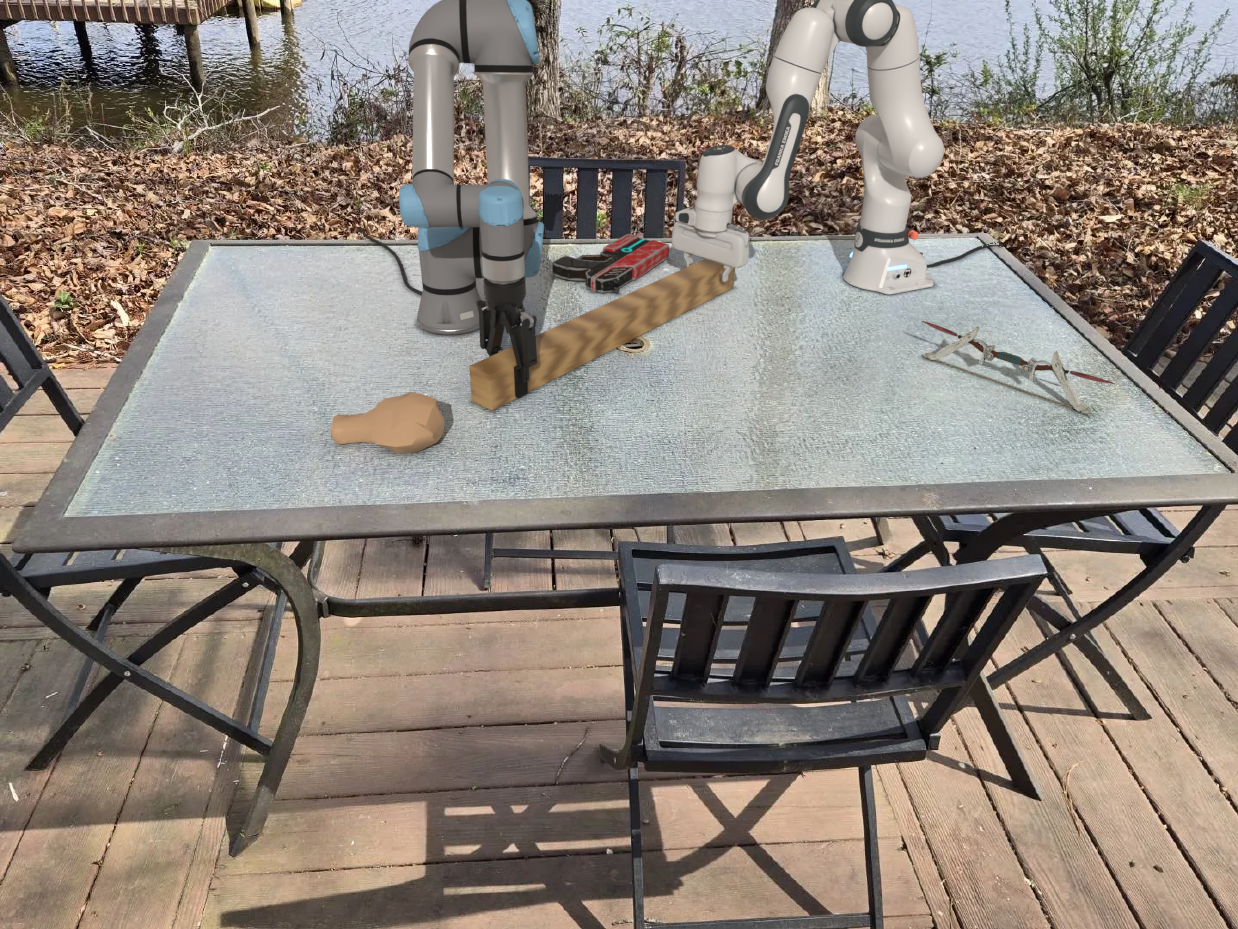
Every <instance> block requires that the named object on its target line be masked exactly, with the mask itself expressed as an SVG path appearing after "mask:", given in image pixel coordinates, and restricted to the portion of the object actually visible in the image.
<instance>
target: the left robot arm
mask: <svg viewBox="0 0 1238 929" xmlns="http://www.w3.org/2000/svg"><path fill="white" fill-rule="evenodd" d="M408 44H409V45H408V59H407V60H408V66H409V68H410V70H411V71H412V72H413V88H412V90H413V94H412V96H413V97H412V98H413V99H412V100H413V101H412V155H411V156H412V161H411V163H412V164H411V165H412V166H411V167H412V168H411V170H412V171H411V181H412V182H411V183H408V184H407V183H406V184H402V185H401V186H400V187H399V192H398V203H399V213H400V214H399V215H400V218H401V221H402V223H403V224H404V225H405V226H407V227H409V228H418V229H417V247H416V248H417V250H418V256H419V264H420V266H419V267H420V275H421V276H420V277H421V284H422V291H421V290H419V289H416V288H415V287H413V286H411V285H410V284H409V282H408V279H407V276H406V273H405V270H404V267H403V264H402V261H401V260H400V258H399V256H398V255H397V253H396V252H395V251H394V250H393V249H392V248H391V247H389V246H388V245H386V244H385V243H384V242H382V241H380V240H378V239H375V238H374V237H372V236H370V235H369V234H367V232H365V230H364V229H363V228H362V227H359V228H358V230H357V233H361V234H362V235H363V237H365V238H366V239H367V240H369V241H370V242H373V243H375V244H377V245H379V246H381V247H383V248H384V249H385V250H387V251H388V252H389V253H390V254H391V255H392V256H393V257H394V259H395V261H396V263H397V265H398V267H399V271H400V274H401V277H402V281H403V283H404V286H405V287H406V289H408V290H410V291H411V292H413V293H415V294H418V295H420V296H421V297H420V302H419V305H418V310H417V317H416V318H417V325H418V326H419V328H420V329H421V330H423V331H424V332H427V333H430V334H433V335H440V336H459V335H465V334H469V333H473V332H476V331H477V330H479V348H480V349H482V350H486V354H487V355H488V357H490V356H492V355H494V354H497V353H499V352H501V351H503V350H504V348H503V347H502V342H503V337H504V332H506V334H508V335H509V336H508V337H509V338H510V343H511V347H513V351H514V355H515V359H516V363H517V366H515V367H514V382H515V397H516V399H520V398H522V397H524V396H525V395H528V394H529V392H528V382H527V381H529V367H531V366H533V365H535V364H537V350H536V335H537V334H536V326H537V321H538V320H537V319H538V318H537V316H536V315H531V316H530V315H529V314H528V313H527V312H526V308H525V306H524V300H525V298H526V296H527V286H526V278H527V279H528V278H534V277H536V276H538V274H539V272H540V270H541V269H540V268H541V262H542V253H543V243H544V232H545V230H544V229H545V224H544V223H543V222H541V221H538V214H537V212H536V211H535V210H534V209H533V208H532V207H531V205H530V180H529V179H530V178H529V177H530V176H529V174H530V173H529V149H528V148H529V147H528V146H529V144H528V115H527V114H528V113H527V111H528V110H527V82H528V81H529V80H530V78H531V77H532V76H533V75H534V66H536V65H539V64H540V62H541V59H540V53H539V44H538V38H537V30H536V23H535V17H534V12H533V7H532V4H531V2H529V0H439V1H438V2H436V3H434V4H433V5H432V6H431V7H430V8H428V9H427V10H426V11H425V12H424V13H423V15H422V16H421V17H420V19H419V20H418V22H417V24H416V25H415V27H414V29H413V32H412V34H411V37H410V40H409V43H408ZM460 64H471V65H473V69H474V75H475V76H476V78H478V79H479V80H480V81H481V83H482V94H483V96H482V97H483V98H482V99H483V116H484V117H483V118H484V136H485V137H484V138H485V139H484V140H485V154H486V155H485V156H486V158H485V159H486V174H487V175H486V176H487V184H454V183H455V76H456V75H457V74H458V72H459V71H460ZM379 241H380V242H379ZM477 279H483V293H484V298H481V295H480V293H479V291H478V288H477Z"/></svg>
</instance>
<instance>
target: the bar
mask: <svg viewBox="0 0 1238 929" xmlns="http://www.w3.org/2000/svg"><path fill="white" fill-rule="evenodd" d="M694 263H695V264H693V265H691V266H688V267H687V266H686V267H684V268H682V269H680V270H678V271H675V272H673V273H671V274H669V275H665V276H664V277H662V278H659V279H657V280H655V281H653V282H651V283H649V284H647V285H644V286H643V287H639V288H638V289H636V290H634V291H631V292H629V293H626V294H625V295H622V296H620V297H618V298H615V299H612V300H611V301H609V302H607V303H604V304H602V305H600V306H597V307H595V308H594V309H592V310H589V311H587V312H585V313H583V314H580V315H578V316H576V317H574V318H571V319H569V320H567V321H565V322H563V323H561V324H558V325H556V326H553V327H552V328H549V329H548V330H547V329H546V330H545V331H543V332H541V333H539V334H535V335H536V350H537V364H535V365H533V366H531V367H529V381H527V382H528V393H530V392H531V391H532V392H533V391H534V390H537V389H538V388H540V387H542V386H544V385H546V384H548V383H550V382H552V381H554V380H555V379H556V380H557V379H558V378H560V377H561V376H563V375H565V374H567V373H570V372H571V371H573V370H575V369H577V368H579V367H581V366H583V365H585V364H587V363H590V362H591V361H594V360H595V359H597V358H599V357H601V356H603V355H605V354H607V353H609V352H610V351H611V352H612V351H613V350H614V349H615V350H616V349H617V348H619V347H620V346H623V345H624V344H627V343H629V342H630V341H632V340H634V339H636V338H638V337H640V336H642V335H644V334H646V333H649V332H650V331H651V330H654V329H655V328H657V327H660V326H661V325H663V324H665V323H668V322H669V321H671V320H673V319H676V318H677V317H679V316H681V315H683V314H685V313H688V312H689V311H691V310H693V309H695V308H697V307H699V306H701V305H703V304H705V303H707V302H709V301H711V300H713V299H714V298H717V297H719V296H721V295H722V294H724V293H726V292H728V291H730V290H732V289H734V284H735V276H736V268H735V267H734V268H733V269H732V270H731V272H730V273H729V274H728V280H727V281H726V282H723V281H720V280H719V278H720V277H719V274H720V273H722V272H724V271H725V270H726V269H725V268H724V264H722V263H719V262H716V261H712V260H709V259H706V258H703V259H701V260H700V261H697V262H694ZM515 366H517V363H516V359H515V355H514V351H513V347H512V346H510V347H508V348H506V349H502V350H500V351H498V353H497V354H494V355H492V356H490V357H489V356H488V357H485V358H484V359H483V358H482V359H481V360H479V361H476V362H475V363H473V364H471V365H469V366H468V368H469V369H468V370H469V382H470V393H471V394H470V395H471V401H472V403H474V404H476V405H478V406H481V407H483V408H485V409H487V410H489V411H492V412H494V411H495V410H497V409H499V408H501V407H503V406H504V405H506V404H508V403H510V402H513V401H515V400H516V399H517V398H516V397H515V382H514V367H515Z"/></svg>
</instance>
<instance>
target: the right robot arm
mask: <svg viewBox="0 0 1238 929" xmlns="http://www.w3.org/2000/svg"><path fill="white" fill-rule="evenodd" d="M917 30H918V29H917V26H916V22H915V18H914V14H913V12H912V11H911V10H910V8H909V7H907V6H905V5H902V4H895V2H894V1H893V0H815V1H814V2H813V3H812V4H811V5H810V7H804V8H801V9H799V10H798V11H796V12H795V13H794V14H793V15H792V17H791V19H790V20H789V22H788V24H787V27H785V30H784V32H783V34H782V36H781V38H780V40H779V43H778V45H777V47H776V49H775V52H774V55H773V58H772V60H771V64H770V66H769V69H768V73H767V78H766V85H765V91H766V95H767V98H768V100H769V103H770V108H771V109H772V116H773V129H772V133H771V137H770V140H769V142H768V147H767V149H766V152H765V156H764V158H763V161H761V160H758V159H756V158H752V157H749V156H747V155H745V154H744V153H741V152H740V151H739V150H738V149H737V148H736V147H735V146H734V145H730V144H718V145H713V146H709V147H708V148H707V149H705V150H704V151H703V152H702V155H701V157H700V160H699V163H698V164H699V165H698V168H697V169H698V170H697V175H696V176H697V177H696V192H697V195H696V199H695V202H694V206H690V207H687V208H684V209H680V210H679V211H677V212H676V213H675V214H674V215H675V217H674V219H675V222H674V224H673V226H672V231H671V245H672V248H673V249H674V250H678V251H680V252H683V258H684V260H685V262H686V264H687V265H686V267H688V266H691V265H693V264H695V263H696V262H694V259H693V256H697V257H700V258H703V259H709V260H712V261H716V262H719V263H722V264H724V268H725V269H726V270H725V271H724V272H722V273H720V274H719V277H720V278H719V280H720V281H723V282H726V281H727V280H728V274H729V273H730V272H731V270H732V269H733V268H734V267H735V269H741V268H743V267H745V266H746V265H747V264H748V263H749V260H750V240H751V239H750V238H751V236H750V233H749V232H748V230H746V228H745V227H744V226H738V225H736V224H733V223H732V220H733V219H732V218H733V212H734V211H733V210H734V205H735V204H741V205H742V206H743V207H744V209H745V211H746V213H748V215H749V216H750V217H751V218H753V219H756V220H760V221H767V220H771V219H773V218H775V217H777V216H778V215H779V214H780V213H782V212H783V211H784V210H785V208H786V206H787V204H788V203H789V198H790V178H791V174H792V170H793V167H794V164H795V160H796V157H797V155H798V152H799V148H800V145H801V142H802V139H803V136H804V132H805V129H806V126H807V121H808V117H809V114H810V110H811V106H812V102H813V99H814V96H815V93H816V91H817V88H818V86H819V84H820V80H821V78H822V75H823V72H824V70H825V67H826V65H827V62H828V58H829V57H830V54H831V53H832V51H833V50H834V49H835V47H836V46H837V45H839V44H841V43H846V44H847V43H848V44H852V45H856V46H859V47H862V48H865V51H866V68H867V70H866V71H867V80H868V81H867V82H868V94H869V101H870V104H871V106H872V107H873V109H874V110H875V112H876V114H871V115H869V116H867V117H865V118H864V119H863V120H862V121H861V122H860V123H859V125H858V127H857V129H856V132H855V135H854V136H855V137H854V143H855V146H856V149H857V151H858V153H859V156H860V159H861V165H862V171H863V183H864V184H863V185H864V188H863V189H864V190H863V199H862V207H861V213H860V219H859V222H858V223H857V226H856V231H855V235H854V243H853V250H852V252H851V253H850V254H849V258H850V259H849V263H848V265H847V267H846V270H845V272H844V274H843V276H842V278H843V280H844V281H845V282H846V283H847V284H849V285H851V286H853V287H855V288H859V289H862V290H866V291H872V292H878V293H879V294H884V295H895V294H900V293H906V292H911V291H916V290H917V291H918V290H922V289H927V288H932V287H934V279H933V278H932V276H931V275H929V274H928V272H927V269H928V268H934V267H937V266H940V265H945V264H948V263H952V262H956V261H958V260H959V261H960V260H962V259H964V258H965V257H967V256H969V255H971V254H973V253H975V252H978V251H980V250H983V249H987V248H990V247H991V248H992V247H993V246H995V245H989V243H990V244H993V242H994V243H995V242H997V243H999V245H997V246H998V247H999V246H1001V247H1003V248H1004V245H1003V243H1001V242H999V241H993V242H989V243H987V245H988V246H987V245H986V244H983V245H979V246H977V247H974V248H972V249H970V250H968V251H966V252H964V253H962V254H961V255H958V256H954V257H951V258H947V259H943V260H939V261H937V262H934V263H929V264H928V263H927V260H926V257H925V256H924V253H923V252H921V251H919V250H918V249H917V248H916V247H915V246H914V245H912V243H911V242H910V239H911V240H912V241H917V239H919V237H920V234H919V232H918V231H916V230H915V229H910V228H909V227H907V222H908V219H909V218H908V217H909V214H910V207H911V203H912V195H911V190H910V189H909V187H908V184H907V180H906V177H910V178H920V179H921V178H927V177H928V176H930V175H932V174H933V173H934V172H935V171H936V170H937V169H938V168H939V167H940V166H941V163H942V162H943V159H944V155H945V145H944V142H943V140H942V139H941V137H940V136H939V134H938V133H937V131H936V130H935V127H934V126H933V123H932V121H931V119H930V118H931V117H930V115H929V112H928V110H927V106H926V103H925V100H924V96H923V90H922V80H921V78H922V77H921V64H920V61H921V60H920V46H919V36H918V31H917ZM995 244H996V243H995ZM982 246H983V247H982ZM1001 247H1000V248H1001Z"/></svg>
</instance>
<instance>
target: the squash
mask: <svg viewBox="0 0 1238 929" xmlns="http://www.w3.org/2000/svg"><path fill="white" fill-rule="evenodd" d="M445 422H446V421H445V419H444V417H443V415H442V413H441V409H440V407H439V403H438V399H437V398H435V397H432V396H429V395H426V394H423V393H417V392H407V393H404V394H400V395H398V396H391V397H385V398H383V399H382V400H381V401H379V402H378V403H377V404H376V406H375V407H374V408H372V409H370V410H368V411H367V412H364V413H355V414H336V415H333V417H332V423H331V426H330V438H331V439H332V440H333V441H334V442H335V443H336V445H344V444H352V443H354V444H355V443H369V444H374V445H378V446H380V447H382V448H384V449H387V450H389V451H391V452H393V453H395V454H397V455H401V454H417V453H419V452H421V451H423V450H425V449H427V448H429V447H431V446H433V445H435V444H437V443H438V442H439V440H441V438H442V437H443V436H444V435H443V434H444V427H445Z"/></svg>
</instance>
